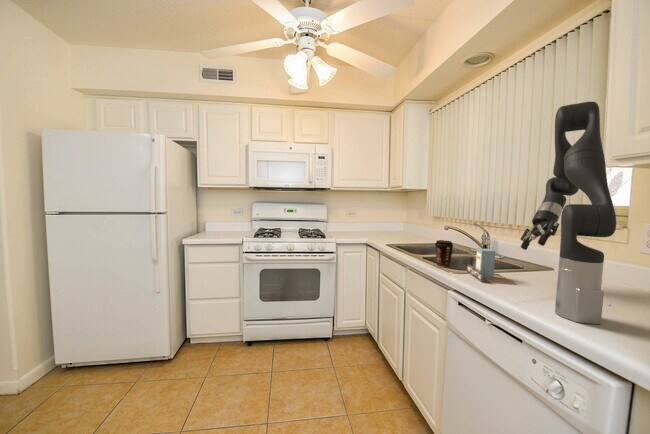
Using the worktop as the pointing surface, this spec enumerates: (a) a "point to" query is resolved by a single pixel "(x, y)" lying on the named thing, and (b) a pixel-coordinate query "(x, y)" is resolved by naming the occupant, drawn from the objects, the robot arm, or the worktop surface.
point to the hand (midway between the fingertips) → (531, 246)
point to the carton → (486, 262)
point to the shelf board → (481, 277)
